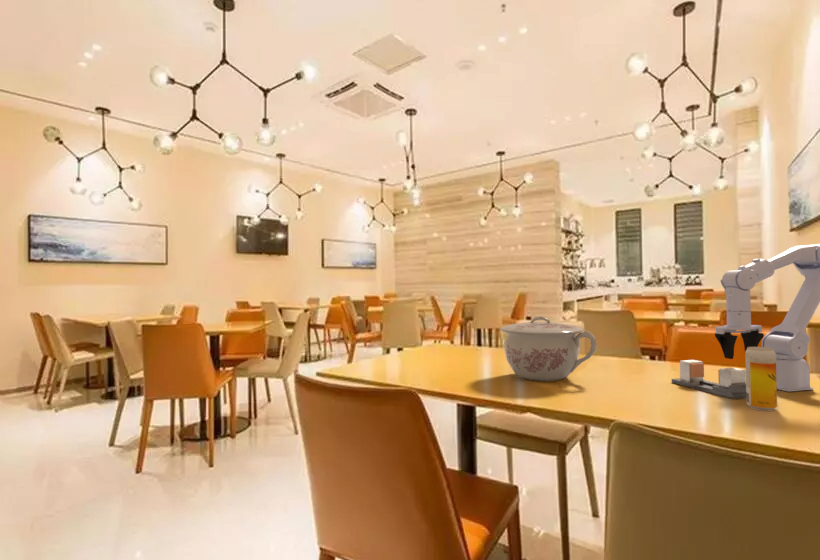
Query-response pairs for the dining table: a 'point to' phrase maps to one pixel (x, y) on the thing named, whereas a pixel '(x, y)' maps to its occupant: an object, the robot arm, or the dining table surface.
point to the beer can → (761, 378)
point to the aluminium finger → (731, 377)
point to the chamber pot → (544, 349)
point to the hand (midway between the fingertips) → (739, 357)
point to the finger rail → (694, 379)
